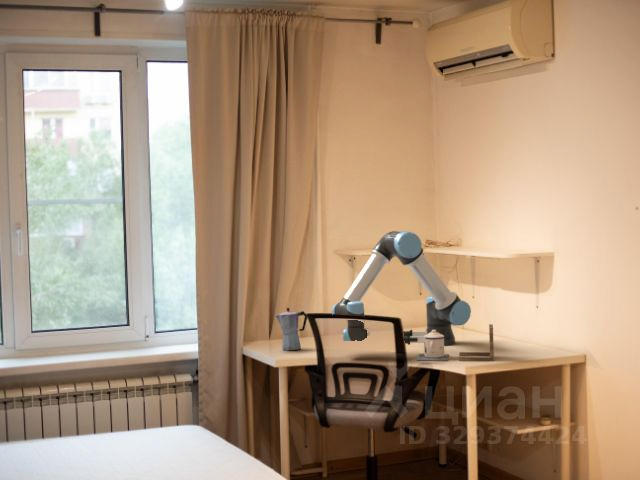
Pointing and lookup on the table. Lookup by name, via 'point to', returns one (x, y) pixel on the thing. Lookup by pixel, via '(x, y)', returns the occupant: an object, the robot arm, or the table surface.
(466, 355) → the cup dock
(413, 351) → the table surface
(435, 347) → the teacup with lid
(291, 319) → the moka pot
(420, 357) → the slate mat
